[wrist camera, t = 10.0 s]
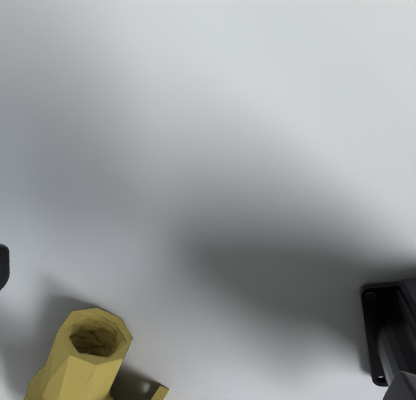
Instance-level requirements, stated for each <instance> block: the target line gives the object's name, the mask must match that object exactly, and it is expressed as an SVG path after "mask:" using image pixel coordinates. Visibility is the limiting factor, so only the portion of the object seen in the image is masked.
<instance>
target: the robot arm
mask: <svg viewBox="0 0 416 400" xmlns="http://www.w3.org/2000/svg"><path fill="white" fill-rule="evenodd" d="M9 275H10V267H9V249H8V247H7V246H5V245H3V244H0V290H1V289H2V288H3V287H4V286H5V285H6V283H7V281H8V279H9ZM369 292H373V293H374V295H373V296H367V295H366V294H367V293H369ZM360 300H361V307H362V314H363V322H364V329H365V336H366V344H367V351H368V358H369V366H370V373H371V377H372V381H373V383H374V384H375V385H378V386H382V387H389V388H388V389H387V391H386V393H385V395H384V397H383V400H416V279H404V280H402V281H401V282H389V283H376V284H367V285H364V286H363V287H361V289H360ZM379 376H384V377H382V378H379Z"/></svg>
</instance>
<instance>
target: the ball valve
mask: <svg viewBox="0 0 416 400" xmlns="http://www.w3.org/2000/svg"><path fill="white" fill-rule="evenodd" d="M132 339H133V338H132V336H131V334H130V333H129V331H128V329H127V328H126V326H125V324H124V323H123V321H122V319H121V318H119V317H118V316H115V315H113V314H111V313H108V312H106V311H104V310H101V309H99V308H93V309H85V310H77V311H72V312H71V313H70V315H69V316H68V317H67V319H66V320H65V321H64V323H63V324H62V326H61V327H60V328H59V330H58V332H57V334H56V337H55V340H54V343H53V345H52V348H51V351H50V354H49V356H48V359H47V362H46V364H45V367H43V368H41V369H40V370H39V371H38V372H37V373H36V375H35V376H34V377H33V378H32V380H31V381H30V382H29V385H28V389H27V393H26V397H25V399H24V400H114V399H113V398H112V397H111V396H110V388H111V386H112V383H113V381H114V379H115V377H116V375H117V372H118V370H119V368H120V366H121V364H122V361H123V359H124V357H125V355H126V352H127V350H128V348H129V346H130V343H131V341H132ZM168 391H169V389H167V388H165V387H163V386H160V387H159V388H158V390H157V391H156V393H155V394H154V396H153V397H152V399H151V400H163V399H164V398H165V396H166V394H167V392H168Z"/></svg>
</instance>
